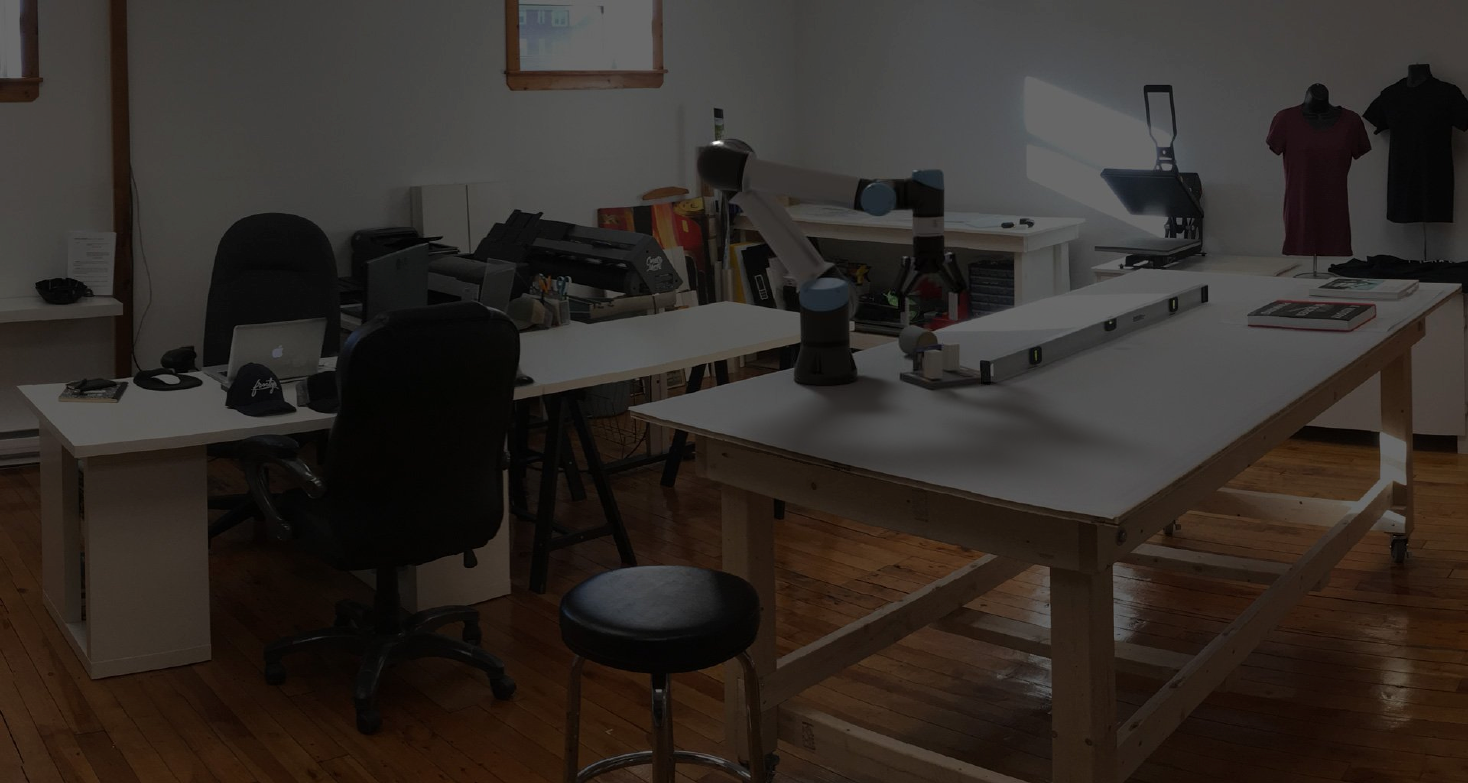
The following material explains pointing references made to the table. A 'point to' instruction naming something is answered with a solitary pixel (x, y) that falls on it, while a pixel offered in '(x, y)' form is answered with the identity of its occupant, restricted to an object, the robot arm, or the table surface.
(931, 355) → the cream upright block
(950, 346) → the tab
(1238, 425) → the table surface
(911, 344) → the ceramic mug
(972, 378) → the grey base plate
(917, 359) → the mini dv tape
